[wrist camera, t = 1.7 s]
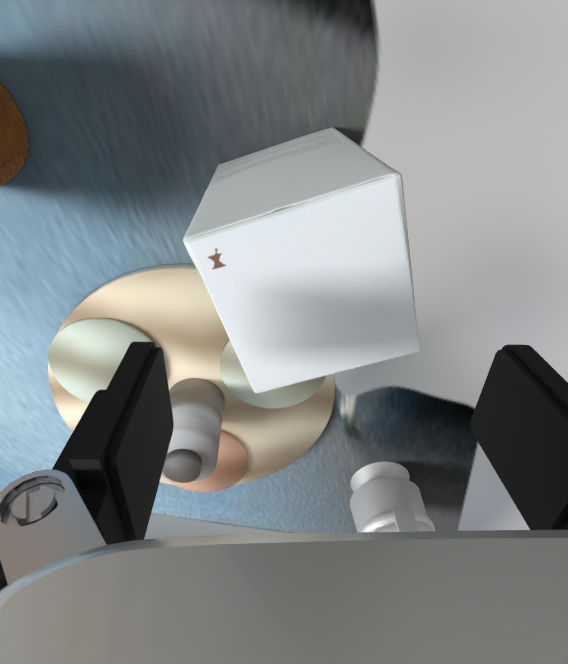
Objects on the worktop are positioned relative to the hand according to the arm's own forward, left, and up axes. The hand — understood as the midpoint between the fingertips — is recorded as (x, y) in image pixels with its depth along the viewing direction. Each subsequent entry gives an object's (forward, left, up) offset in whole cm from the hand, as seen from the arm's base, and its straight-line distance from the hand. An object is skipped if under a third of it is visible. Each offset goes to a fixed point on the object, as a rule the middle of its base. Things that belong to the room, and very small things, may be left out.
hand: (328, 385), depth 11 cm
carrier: (+14, -7, -17) cm, 23 cm away
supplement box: (-1, 0, -17) cm, 17 cm away
